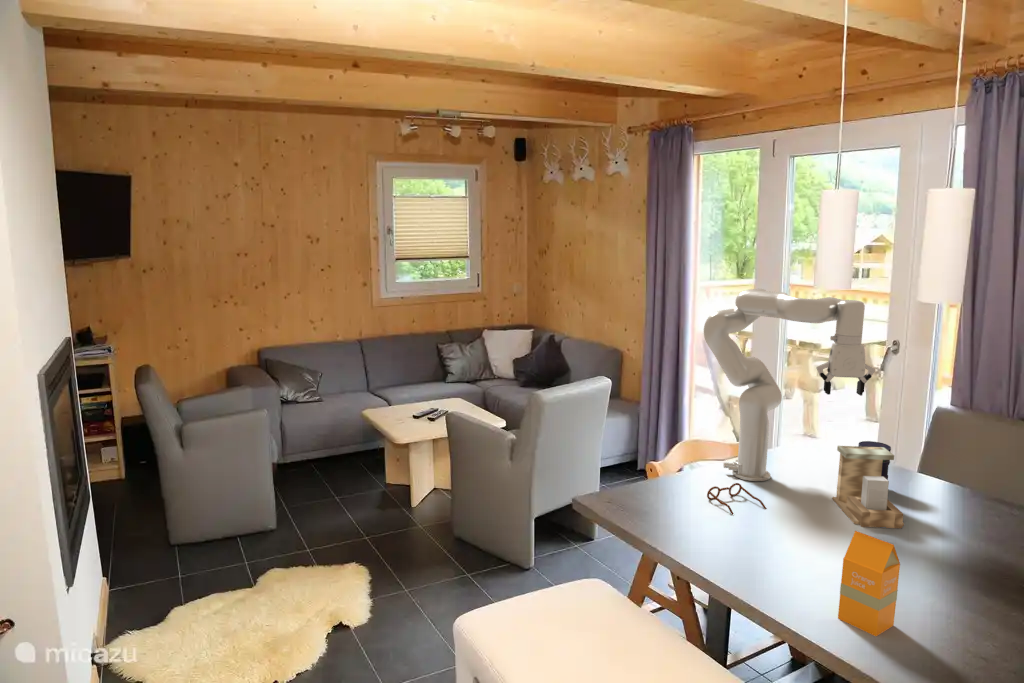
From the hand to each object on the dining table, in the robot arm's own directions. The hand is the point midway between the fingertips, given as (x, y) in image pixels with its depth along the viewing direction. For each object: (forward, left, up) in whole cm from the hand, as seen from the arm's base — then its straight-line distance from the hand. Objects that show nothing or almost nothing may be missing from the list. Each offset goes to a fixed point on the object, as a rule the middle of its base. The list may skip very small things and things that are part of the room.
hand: (843, 394), depth 228 cm
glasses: (-33, -9, -35) cm, 49 cm away
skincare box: (+6, -16, -34) cm, 38 cm away
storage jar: (+15, +10, -34) cm, 39 cm away
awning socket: (+6, -12, -34) cm, 37 cm away
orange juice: (-18, -75, -34) cm, 84 cm away
